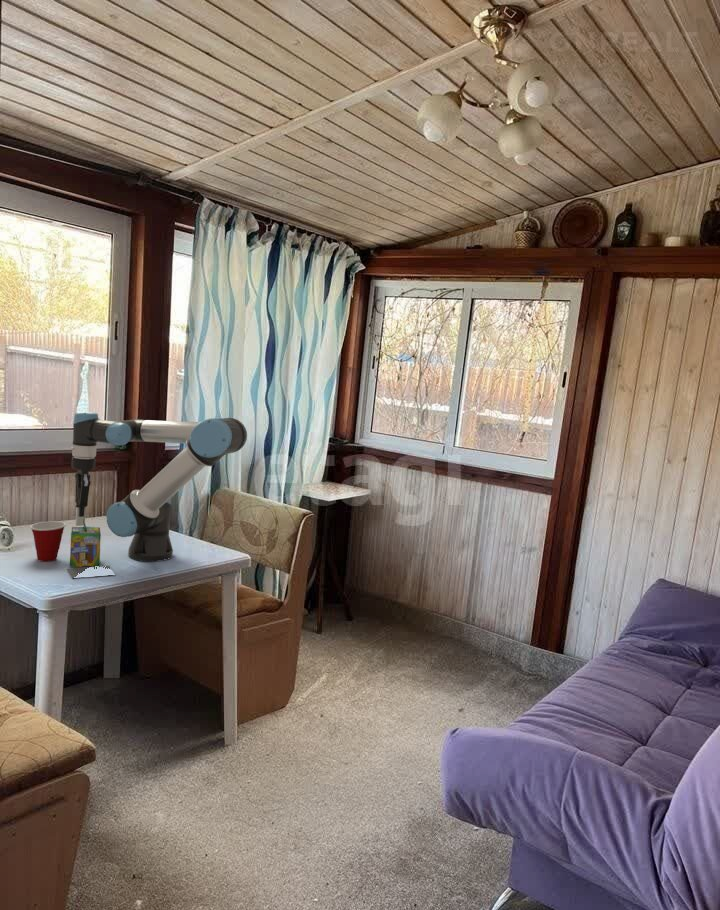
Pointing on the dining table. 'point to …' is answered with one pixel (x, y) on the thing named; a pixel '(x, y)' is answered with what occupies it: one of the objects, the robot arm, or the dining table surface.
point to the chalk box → (85, 546)
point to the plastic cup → (47, 539)
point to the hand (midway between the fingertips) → (80, 525)
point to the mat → (80, 570)
